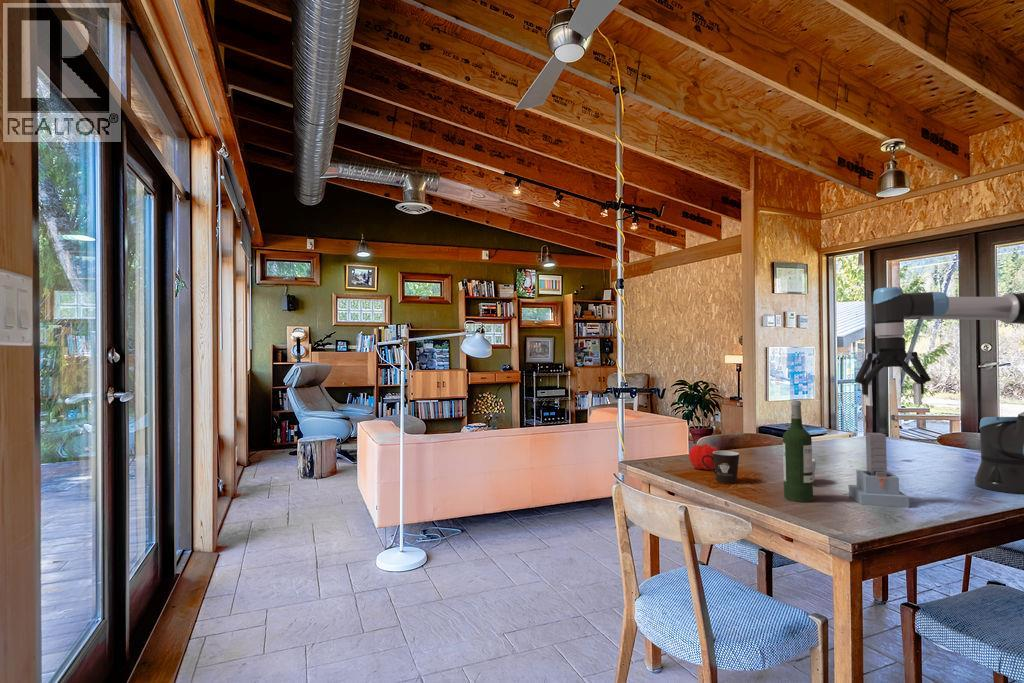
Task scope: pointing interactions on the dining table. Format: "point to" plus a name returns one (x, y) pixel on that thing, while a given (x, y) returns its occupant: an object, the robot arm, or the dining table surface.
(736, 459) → the coffee mug
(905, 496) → the stand base
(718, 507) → the dining table surface
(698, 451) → the red rounded lump
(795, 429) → the wine bottle
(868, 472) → the column
